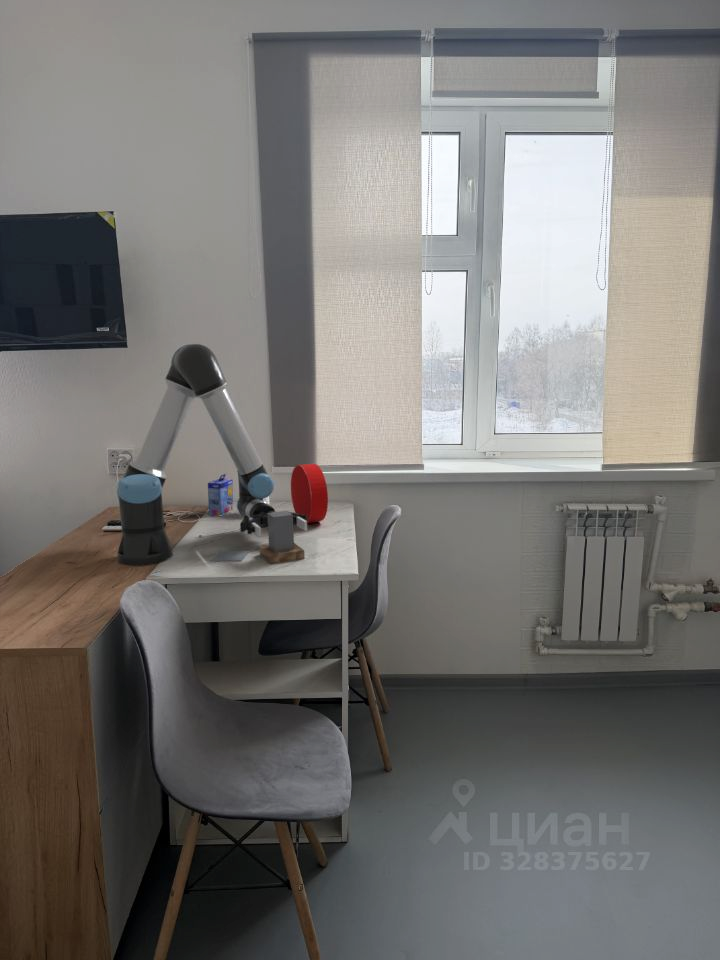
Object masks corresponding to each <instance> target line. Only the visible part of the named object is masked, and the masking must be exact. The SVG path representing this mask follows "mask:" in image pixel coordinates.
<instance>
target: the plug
mask: <svg viewBox="0 0 720 960" xmlns="http://www.w3.org/2000/svg"><path fill="white" fill-rule="evenodd" d="M289 512H290V511H288V510H281V511H275V512H271V513H267V516H268V527H267V531H268V532H267V534H268V545H269V548H271V549H272V550H273V551H274V552H280V551H287V550H293V549H294V543H295V541H294V540H295V538H294V537H295V536H294V533H295V532H294V524H293V515H292V514H291V513H289Z"/></svg>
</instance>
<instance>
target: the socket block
mask: <svg viewBox="0 0 720 960" xmlns="http://www.w3.org/2000/svg"><path fill="white" fill-rule="evenodd" d="M259 555H260V556H261V557H262V558H263V560H265V561H266V562H267V563H268V564H269V565H273V564H281V563H287V562H293V561H298V560H304V559H305V558H306V557H305V550H304V549H303V548H302V547H301V546H299V545H298V544H297V543H295V542H294V549H293V550H287V551H280V552H274V551H273V550H272V549H271V548H269V544H267V545H260V546H259Z"/></svg>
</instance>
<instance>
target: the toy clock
mask: <svg viewBox="0 0 720 960" xmlns="http://www.w3.org/2000/svg"><path fill="white" fill-rule="evenodd" d="M290 478H291V479H290V495H291V502H292V507H293V509H294V513H298V514H304V515H307V524H310V523H315V522H316V523H317V522H322V521H324V519H325V518H326V516H327V512H328V507H329V494H328V493H329V491H328V487H327V482H326V479H325V475H324V472H323V470H322V469H321V467H320V466H319V465H318V464H316V463H307V464H297V465H295V466H294V467H293V469H292V473H291V477H290Z"/></svg>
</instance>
